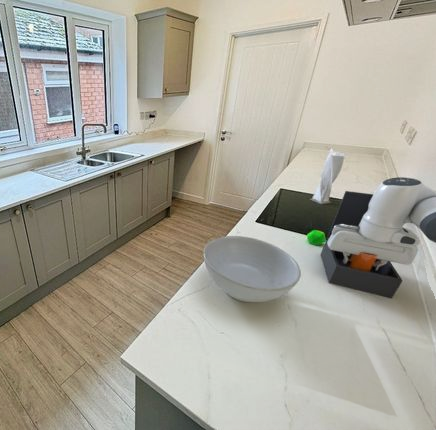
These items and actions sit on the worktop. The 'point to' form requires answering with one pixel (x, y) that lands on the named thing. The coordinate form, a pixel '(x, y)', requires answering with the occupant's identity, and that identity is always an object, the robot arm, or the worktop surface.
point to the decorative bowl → (250, 268)
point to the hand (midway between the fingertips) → (359, 266)
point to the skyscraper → (328, 177)
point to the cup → (362, 261)
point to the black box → (360, 275)
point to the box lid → (351, 209)
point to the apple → (316, 237)
